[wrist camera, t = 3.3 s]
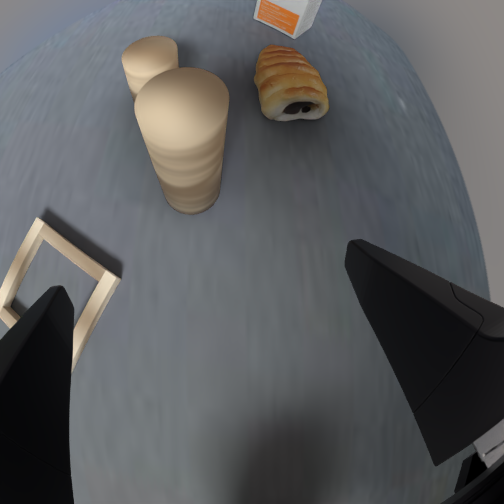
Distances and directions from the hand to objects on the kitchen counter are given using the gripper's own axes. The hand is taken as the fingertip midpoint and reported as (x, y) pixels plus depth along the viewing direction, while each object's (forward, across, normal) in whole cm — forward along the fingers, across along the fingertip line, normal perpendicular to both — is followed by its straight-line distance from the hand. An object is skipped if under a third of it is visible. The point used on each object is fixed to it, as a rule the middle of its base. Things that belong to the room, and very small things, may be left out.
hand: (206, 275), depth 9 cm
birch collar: (+10, +13, +8) cm, 18 cm away
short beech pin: (+22, +2, -3) cm, 23 cm away
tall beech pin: (+15, 0, +4) cm, 16 cm away
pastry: (+22, -10, -3) cm, 24 cm away
